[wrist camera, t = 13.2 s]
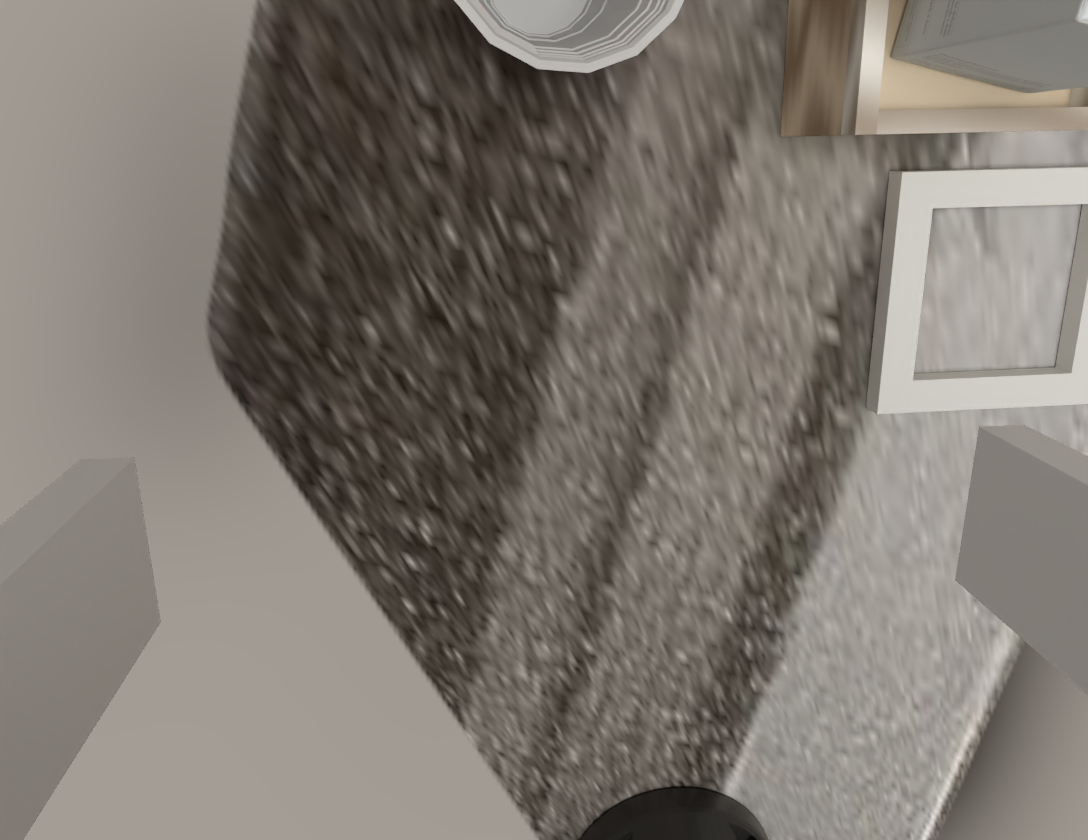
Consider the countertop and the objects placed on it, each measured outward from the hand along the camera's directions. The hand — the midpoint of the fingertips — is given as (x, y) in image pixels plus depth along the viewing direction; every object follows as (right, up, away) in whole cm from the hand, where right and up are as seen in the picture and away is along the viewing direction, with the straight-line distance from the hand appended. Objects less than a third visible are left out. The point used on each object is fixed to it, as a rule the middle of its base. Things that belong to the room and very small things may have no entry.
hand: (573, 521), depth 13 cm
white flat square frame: (+26, +9, +38) cm, 47 cm away
